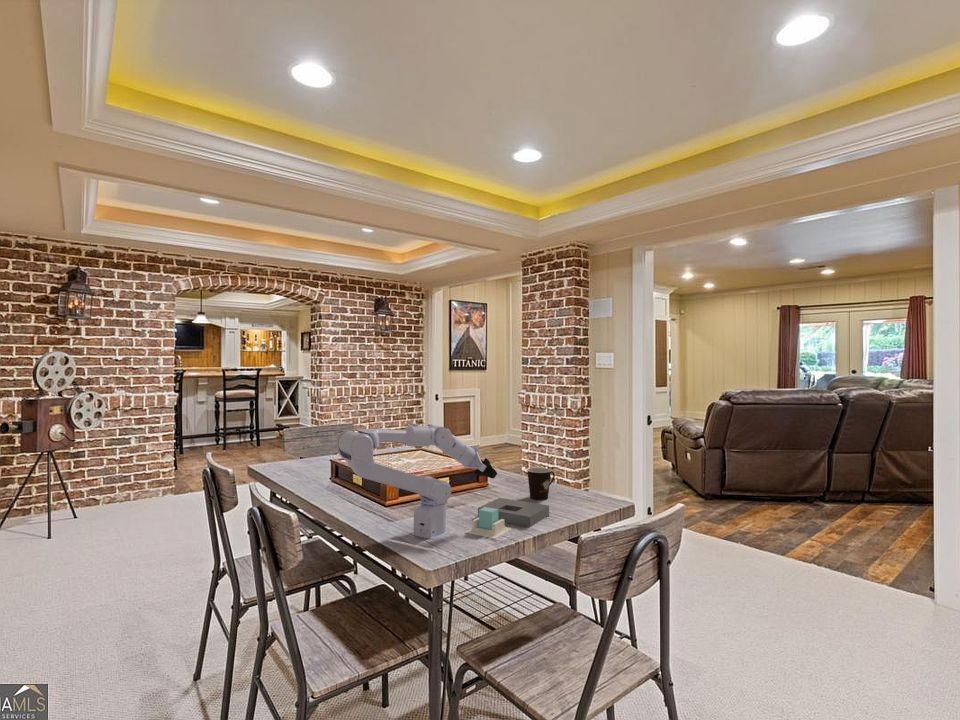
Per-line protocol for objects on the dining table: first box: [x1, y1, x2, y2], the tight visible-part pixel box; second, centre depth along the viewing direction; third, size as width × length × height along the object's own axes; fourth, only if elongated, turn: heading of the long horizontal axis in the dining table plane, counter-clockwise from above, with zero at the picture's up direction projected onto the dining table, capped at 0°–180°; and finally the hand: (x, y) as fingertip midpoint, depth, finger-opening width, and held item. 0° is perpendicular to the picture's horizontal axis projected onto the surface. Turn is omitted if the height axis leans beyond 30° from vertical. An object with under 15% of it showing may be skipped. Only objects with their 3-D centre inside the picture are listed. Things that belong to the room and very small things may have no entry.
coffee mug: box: [526, 467, 556, 501], centre depth 188 cm, size 12×9×10 cm
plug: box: [479, 507, 498, 530], centre depth 150 cm, size 4×4×6 cm
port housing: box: [477, 497, 550, 528], centre depth 164 cm, size 14×18×4 cm
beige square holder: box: [464, 516, 512, 539], centre depth 150 cm, size 10×10×4 cm
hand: (488, 470), depth 161 cm, fingers open, 7 cm apart
